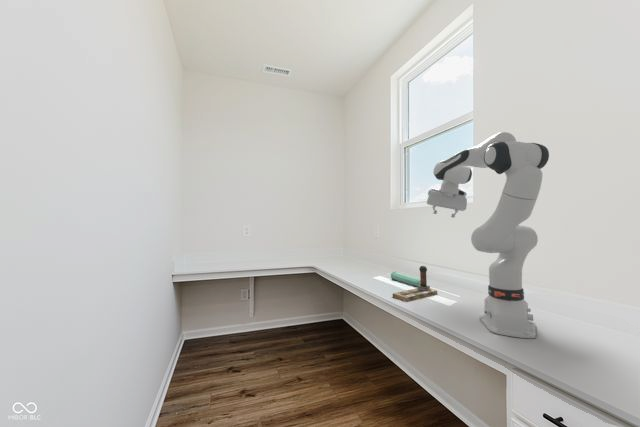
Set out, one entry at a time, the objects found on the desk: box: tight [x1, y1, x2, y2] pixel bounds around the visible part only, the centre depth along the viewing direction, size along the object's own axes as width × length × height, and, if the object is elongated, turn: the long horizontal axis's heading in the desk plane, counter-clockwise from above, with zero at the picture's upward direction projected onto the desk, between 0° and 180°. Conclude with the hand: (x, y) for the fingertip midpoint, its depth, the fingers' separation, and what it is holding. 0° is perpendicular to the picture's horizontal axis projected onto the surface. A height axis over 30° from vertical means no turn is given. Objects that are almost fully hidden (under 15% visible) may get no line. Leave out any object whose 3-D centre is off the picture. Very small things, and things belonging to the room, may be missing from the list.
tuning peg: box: [417, 265, 433, 291], centre depth 155 cm, size 5×7×13 cm
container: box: [390, 271, 421, 287], centre depth 183 cm, size 6×6×25 cm
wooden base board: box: [392, 288, 438, 303], centre depth 153 cm, size 24×10×2 cm, turn 121°
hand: (443, 215), depth 154 cm, fingers open, 8 cm apart
